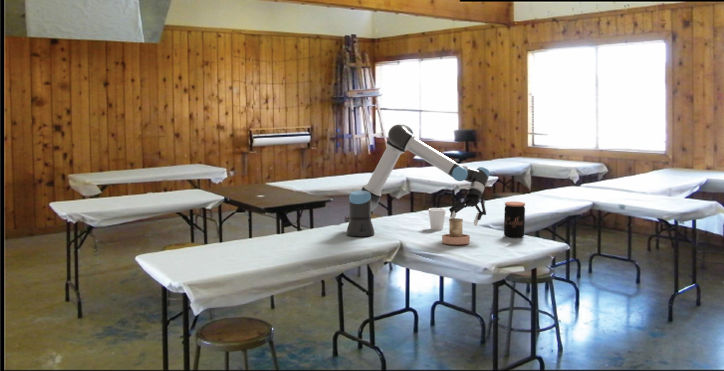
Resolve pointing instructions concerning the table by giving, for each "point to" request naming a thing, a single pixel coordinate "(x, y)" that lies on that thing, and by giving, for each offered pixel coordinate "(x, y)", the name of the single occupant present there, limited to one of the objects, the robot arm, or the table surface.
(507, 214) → the coffee jar
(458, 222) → the canister
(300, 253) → the table surface
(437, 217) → the foam cup
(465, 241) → the bowl
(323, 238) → the table surface
